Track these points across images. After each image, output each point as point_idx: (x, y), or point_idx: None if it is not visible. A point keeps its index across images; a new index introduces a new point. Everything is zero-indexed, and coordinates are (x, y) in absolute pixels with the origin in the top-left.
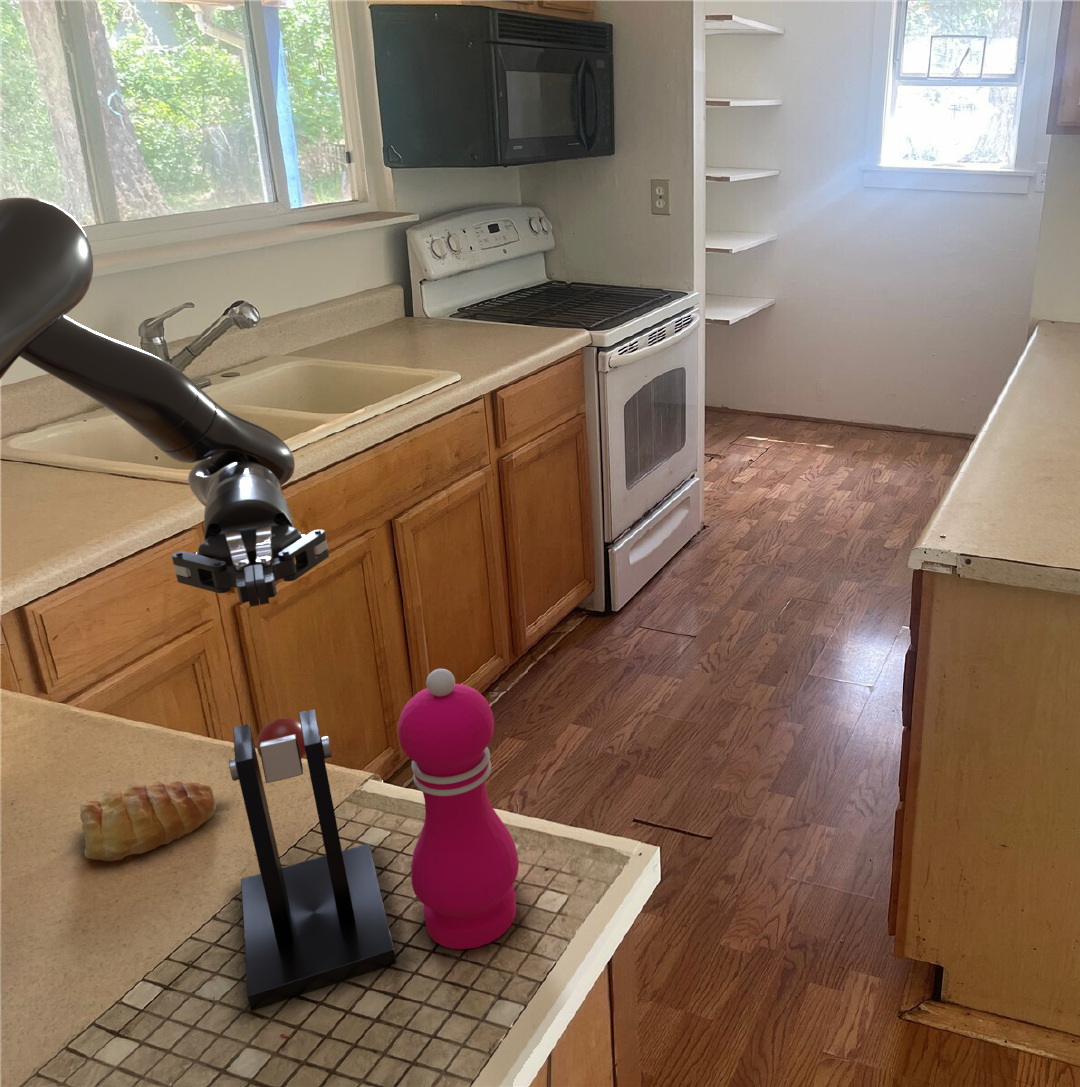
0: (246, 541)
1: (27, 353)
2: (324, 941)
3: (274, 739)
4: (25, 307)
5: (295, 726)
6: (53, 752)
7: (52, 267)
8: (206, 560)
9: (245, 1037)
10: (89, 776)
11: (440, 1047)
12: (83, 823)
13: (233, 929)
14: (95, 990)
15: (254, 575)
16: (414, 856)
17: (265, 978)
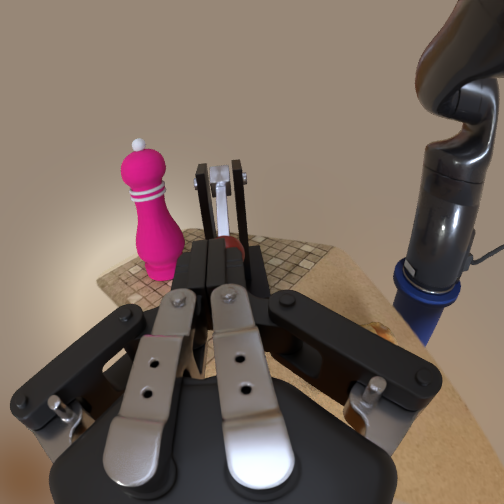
0: (214, 452)
1: None
2: None
3: (221, 178)
4: None
5: None
6: (474, 470)
7: None
8: (324, 327)
9: (260, 245)
10: (430, 438)
11: (197, 234)
12: (383, 325)
13: (273, 284)
14: (328, 268)
15: (210, 303)
16: (178, 230)
17: (253, 249)
